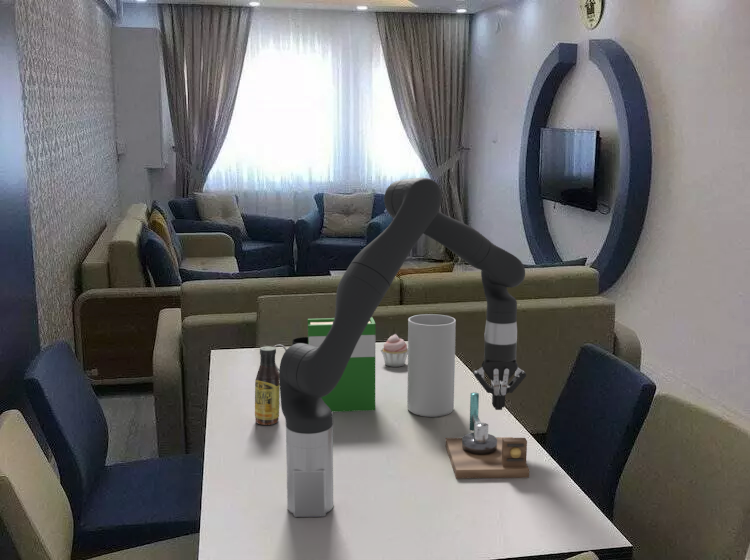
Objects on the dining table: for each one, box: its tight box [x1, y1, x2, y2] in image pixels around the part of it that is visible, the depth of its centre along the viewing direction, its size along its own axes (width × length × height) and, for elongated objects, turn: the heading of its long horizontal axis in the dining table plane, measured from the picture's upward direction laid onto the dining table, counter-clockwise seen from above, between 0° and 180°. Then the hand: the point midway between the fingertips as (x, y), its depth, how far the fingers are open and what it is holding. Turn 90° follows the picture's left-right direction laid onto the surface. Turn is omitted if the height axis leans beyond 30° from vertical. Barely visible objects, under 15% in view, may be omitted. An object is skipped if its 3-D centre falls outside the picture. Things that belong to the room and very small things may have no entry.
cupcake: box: [380, 333, 408, 368], centre depth 255 cm, size 9×9×10 cm
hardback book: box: [307, 316, 377, 413], centre depth 215 cm, size 18×7×24 cm, turn 96°
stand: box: [445, 436, 530, 480], centre depth 181 cm, size 18×16×8 cm
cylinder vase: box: [406, 313, 457, 418], centre depth 213 cm, size 12×12×25 cm
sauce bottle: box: [254, 345, 281, 426], centre depth 204 cm, size 7×6×20 cm
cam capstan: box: [461, 391, 497, 454], centre depth 186 cm, size 14×8×10 cm, turn 2°
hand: (498, 408), depth 191 cm, fingers closed
